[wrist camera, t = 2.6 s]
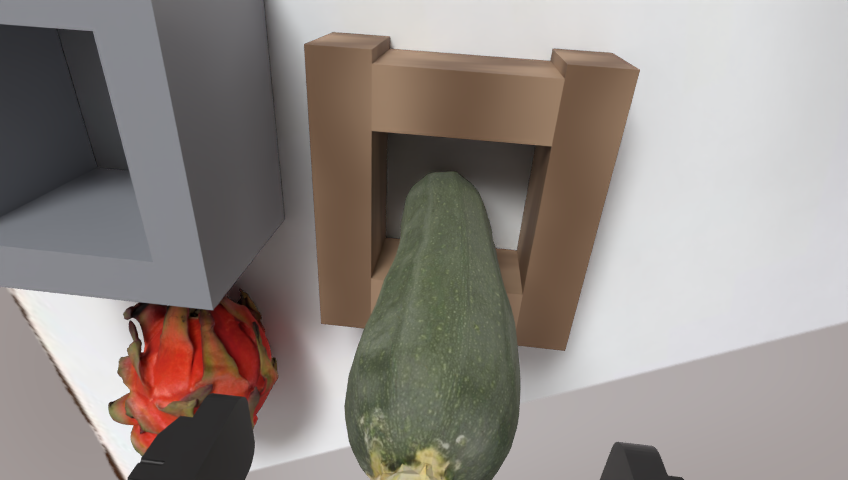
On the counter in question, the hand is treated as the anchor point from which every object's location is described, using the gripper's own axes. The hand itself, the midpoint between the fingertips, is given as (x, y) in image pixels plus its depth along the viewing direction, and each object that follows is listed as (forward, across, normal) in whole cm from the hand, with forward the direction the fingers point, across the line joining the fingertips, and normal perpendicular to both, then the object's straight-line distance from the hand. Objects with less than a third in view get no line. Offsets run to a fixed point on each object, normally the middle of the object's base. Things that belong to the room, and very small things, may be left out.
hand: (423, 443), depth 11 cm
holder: (+15, +15, -3) cm, 21 cm away
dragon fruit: (+16, +13, +11) cm, 23 cm away
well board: (+15, 0, 0) cm, 15 cm away
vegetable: (+15, 0, 0) cm, 15 cm away
